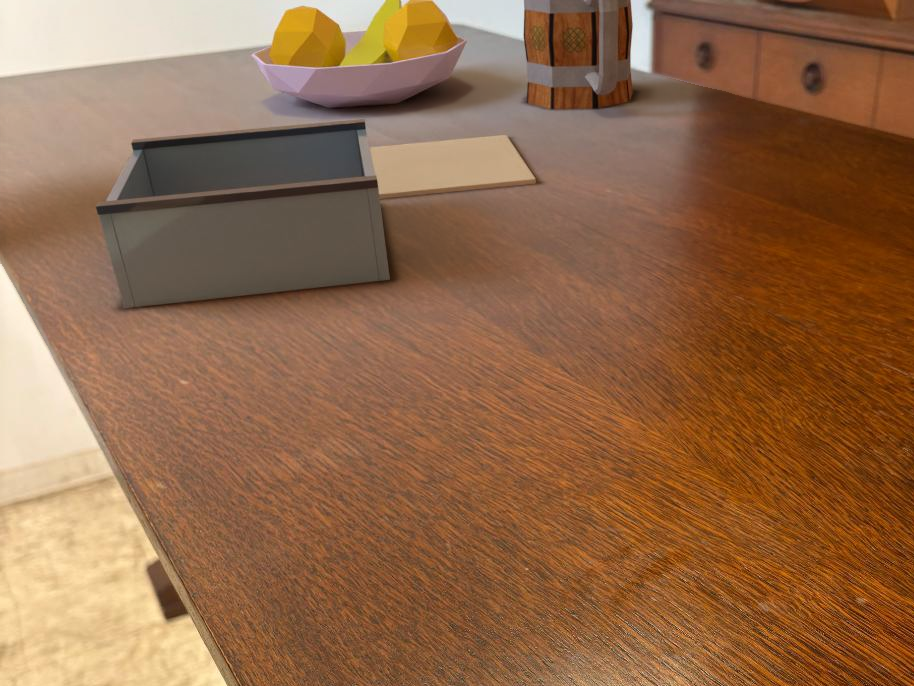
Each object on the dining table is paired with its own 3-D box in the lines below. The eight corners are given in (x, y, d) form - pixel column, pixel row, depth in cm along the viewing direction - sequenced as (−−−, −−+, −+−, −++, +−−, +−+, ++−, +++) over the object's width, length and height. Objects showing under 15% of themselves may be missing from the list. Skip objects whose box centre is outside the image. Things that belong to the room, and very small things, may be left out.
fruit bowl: (386, 127, 124) (373, 19, 118) (217, 110, 137) (197, 11, 130) (517, 79, 144) (512, -16, 137) (359, 67, 156) (347, -21, 150)
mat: (322, 205, 100) (321, 199, 99) (319, 156, 115) (318, 151, 114) (535, 184, 102) (535, 178, 102) (506, 139, 117) (506, 134, 117)
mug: (514, 92, 137) (506, -42, 128) (616, 82, 139) (615, -51, 131) (553, 126, 121) (547, -24, 113) (668, 114, 123) (671, -35, 115)
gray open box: (123, 310, 80) (95, 206, 76) (154, 228, 96) (132, 139, 92) (390, 281, 82) (377, 179, 78) (375, 206, 99) (364, 118, 94)
